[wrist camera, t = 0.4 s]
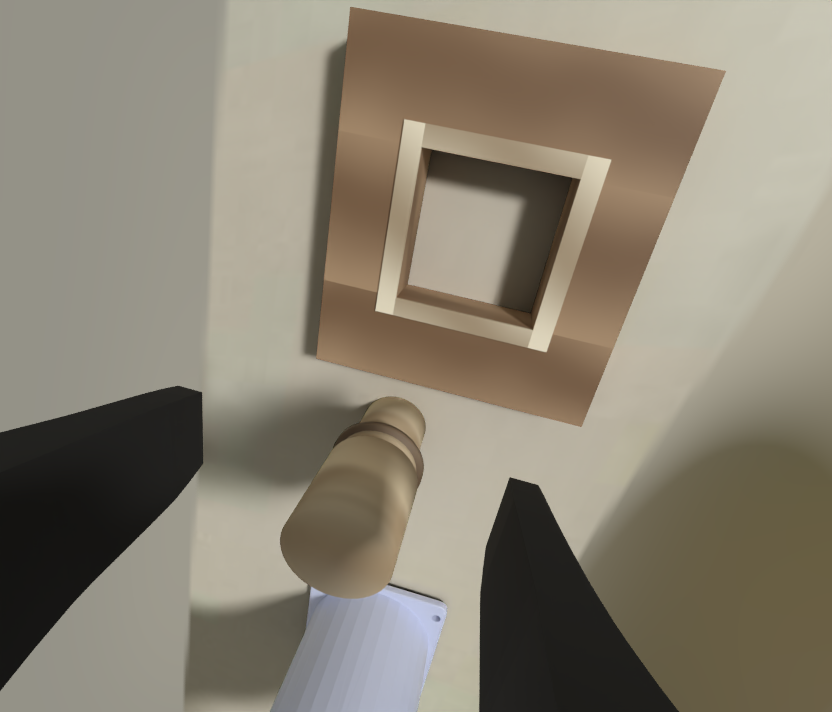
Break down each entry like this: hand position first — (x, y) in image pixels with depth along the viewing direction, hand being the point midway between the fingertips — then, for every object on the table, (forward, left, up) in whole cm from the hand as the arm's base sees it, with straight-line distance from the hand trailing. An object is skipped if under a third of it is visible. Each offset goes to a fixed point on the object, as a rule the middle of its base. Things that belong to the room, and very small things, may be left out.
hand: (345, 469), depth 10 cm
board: (+4, -2, -10) cm, 11 cm away
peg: (-5, 0, -10) cm, 11 cm away
